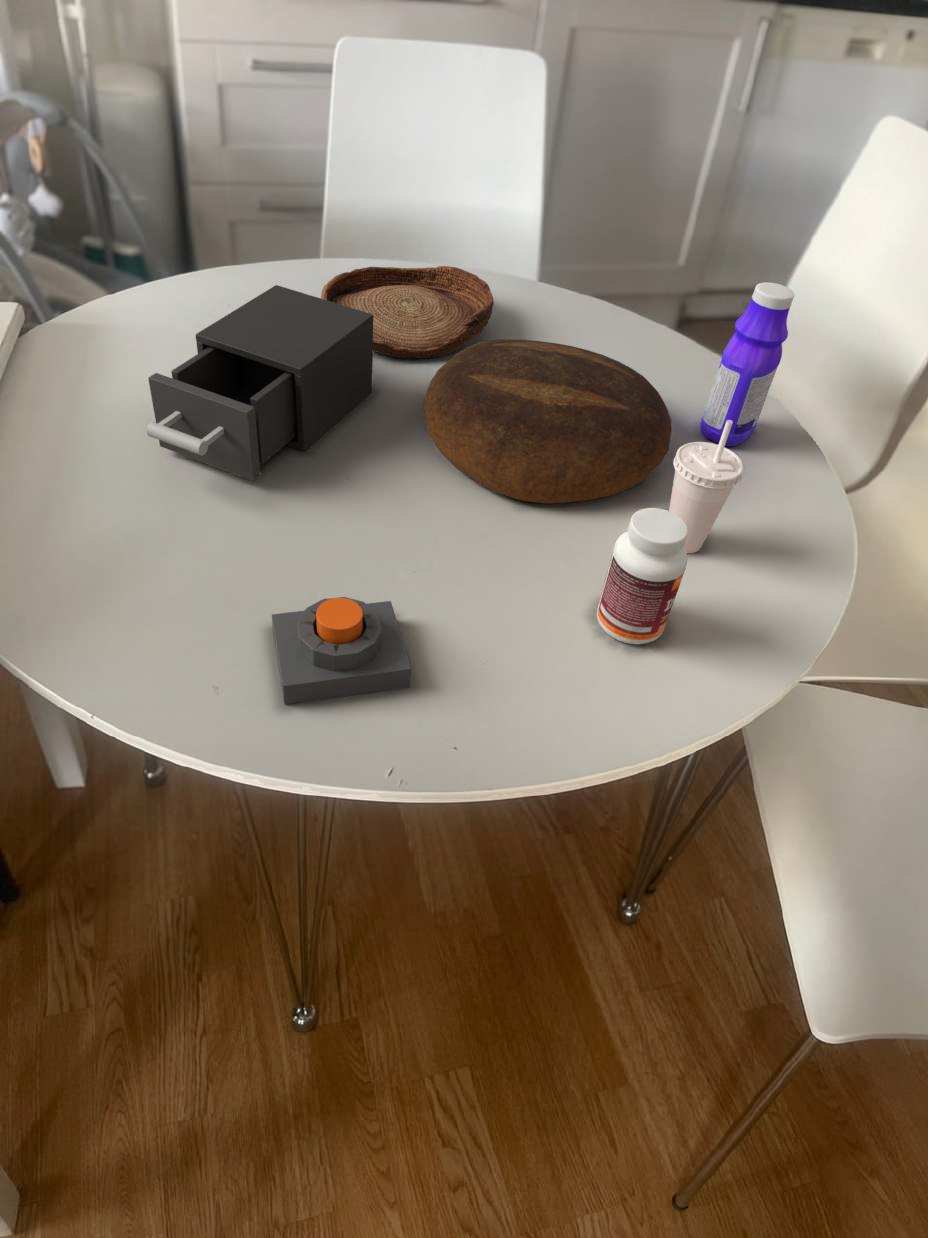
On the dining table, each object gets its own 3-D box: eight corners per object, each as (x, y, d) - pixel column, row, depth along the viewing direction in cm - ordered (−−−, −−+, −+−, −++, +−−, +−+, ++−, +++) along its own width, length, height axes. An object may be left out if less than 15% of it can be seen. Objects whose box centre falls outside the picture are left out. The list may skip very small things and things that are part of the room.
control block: (284, 705, 69) (281, 670, 66) (273, 633, 74) (270, 598, 72) (409, 687, 71) (412, 653, 69) (390, 619, 77) (391, 584, 74)
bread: (653, 537, 88) (676, 464, 82) (391, 481, 91) (394, 406, 85) (671, 399, 109) (690, 332, 103) (457, 356, 112) (463, 289, 106)
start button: (320, 647, 69) (319, 631, 67) (313, 616, 71) (313, 600, 70) (366, 642, 70) (366, 626, 68) (358, 610, 72) (358, 595, 71)
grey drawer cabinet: (304, 451, 94) (300, 369, 87) (205, 416, 97) (195, 334, 90) (372, 392, 104) (373, 314, 97) (280, 362, 107) (276, 284, 100)
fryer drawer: (228, 503, 85) (220, 433, 79) (132, 466, 88) (117, 396, 82) (325, 420, 97) (324, 354, 91) (238, 389, 100) (231, 324, 94)
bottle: (718, 413, 107) (765, 271, 95) (760, 432, 105) (814, 289, 93) (689, 435, 103) (734, 289, 91) (732, 455, 101) (784, 309, 89)
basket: (347, 372, 106) (347, 334, 103) (300, 300, 119) (298, 263, 116) (514, 351, 114) (519, 314, 111) (453, 285, 127) (456, 250, 123)
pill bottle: (668, 650, 77) (703, 553, 69) (597, 643, 77) (625, 545, 69) (659, 602, 82) (691, 505, 74) (593, 595, 81) (618, 498, 74)
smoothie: (697, 571, 85) (742, 447, 76) (639, 542, 88) (675, 418, 78) (725, 540, 89) (771, 419, 79) (669, 513, 92) (707, 392, 82)
